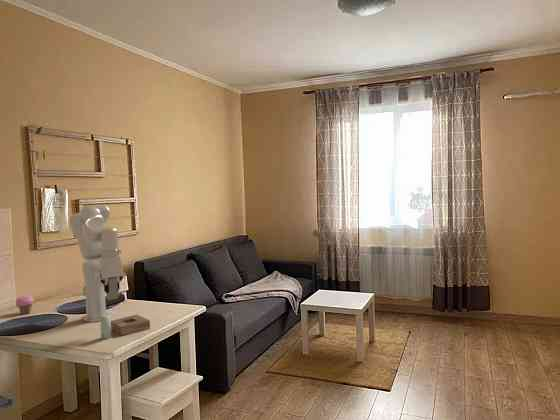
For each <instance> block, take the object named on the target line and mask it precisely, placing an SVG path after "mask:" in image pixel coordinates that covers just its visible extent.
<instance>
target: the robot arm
mask: <svg viewBox="0 0 560 420" xmlns="http://www.w3.org/2000/svg"><path fill="white" fill-rule="evenodd" d="M110 217H111V210H110V208H109V206H108V205H106V204H88V205H85V206H83V207H82V208H81V209H80V212H75V213H73V214H71V216H70V217H69V227H70V229H71V232H72V233H73V235H74V236H75V238H76V240H77V245H78V247H79V251H80V254H81V257H82V259H83V260H85V261H84V262H83V263H82V267H81V269H82V274H83V280H84V290H85V291H84V292H85V295H84V296H85V311H86V312H85V313H86V314H85V316H83V320H82V321H84V322H86V323H87V322H89V323H90V322H91V323H93V322H100V317H101V316H103V315H110V313H108V312H107V306H106V304H105V299H106V293H109V287H108V278H114V277H117V286H118V292H119V290H120V283H121V281H122V280H123V279H124V278H125V277H126V276H127V273H126V272H125V271H124V270H123V263H122V258H121V255H120V254H121V253H122V252H123V251H122V250H120V249H119V232H118V229H117V228H116V227H114V226H104V225H105V224H106V223H107V222H108V221H109V219H110Z"/></svg>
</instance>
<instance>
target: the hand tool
mask: <svg viewBox="0 0 560 420" xmlns="http://www.w3.org/2000/svg"><path fill="white" fill-rule="evenodd" d="M125 300H126V296H125V294H124V293H118V298H117V299H112V300H109V299H107V298H105V304H106V307H107V306H110V305H114V304H117V303H120V302H125Z"/></svg>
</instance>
